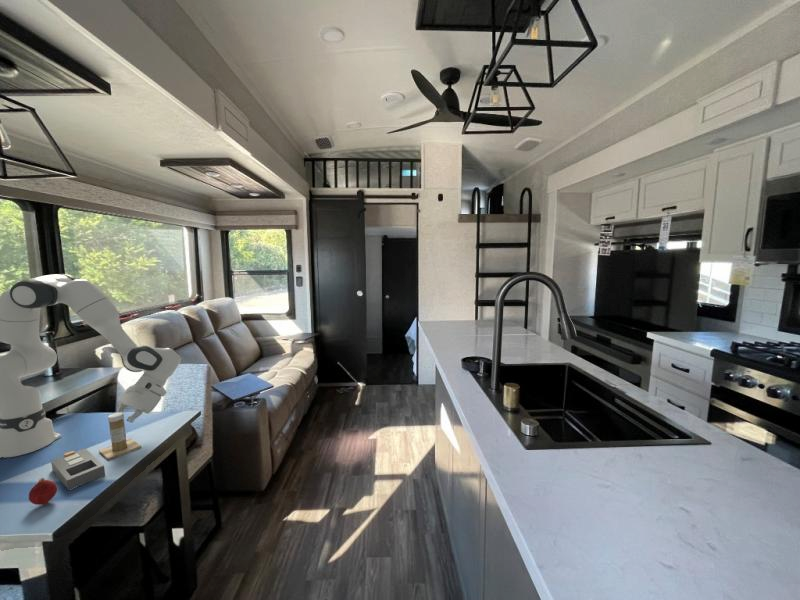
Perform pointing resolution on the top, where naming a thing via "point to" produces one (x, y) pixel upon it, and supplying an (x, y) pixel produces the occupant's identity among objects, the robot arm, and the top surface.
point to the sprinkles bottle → (117, 431)
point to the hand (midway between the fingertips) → (122, 419)
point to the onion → (42, 492)
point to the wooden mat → (111, 454)
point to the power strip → (77, 468)
